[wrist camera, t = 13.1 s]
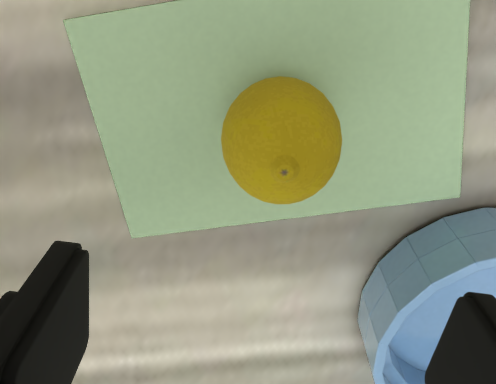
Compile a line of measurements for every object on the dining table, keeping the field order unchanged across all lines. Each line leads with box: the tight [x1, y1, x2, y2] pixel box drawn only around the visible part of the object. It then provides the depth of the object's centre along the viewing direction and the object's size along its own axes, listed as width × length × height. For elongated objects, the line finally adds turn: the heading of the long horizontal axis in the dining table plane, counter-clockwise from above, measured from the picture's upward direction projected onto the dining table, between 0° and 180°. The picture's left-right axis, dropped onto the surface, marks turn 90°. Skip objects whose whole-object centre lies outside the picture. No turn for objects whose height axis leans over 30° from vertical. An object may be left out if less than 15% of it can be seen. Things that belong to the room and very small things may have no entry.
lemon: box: [221, 76, 342, 204], centre depth 21 cm, size 6×6×8 cm
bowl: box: [357, 208, 496, 384], centre depth 28 cm, size 15×15×5 cm
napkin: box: [63, 0, 470, 238], centre depth 25 cm, size 20×13×1 cm, turn 99°
